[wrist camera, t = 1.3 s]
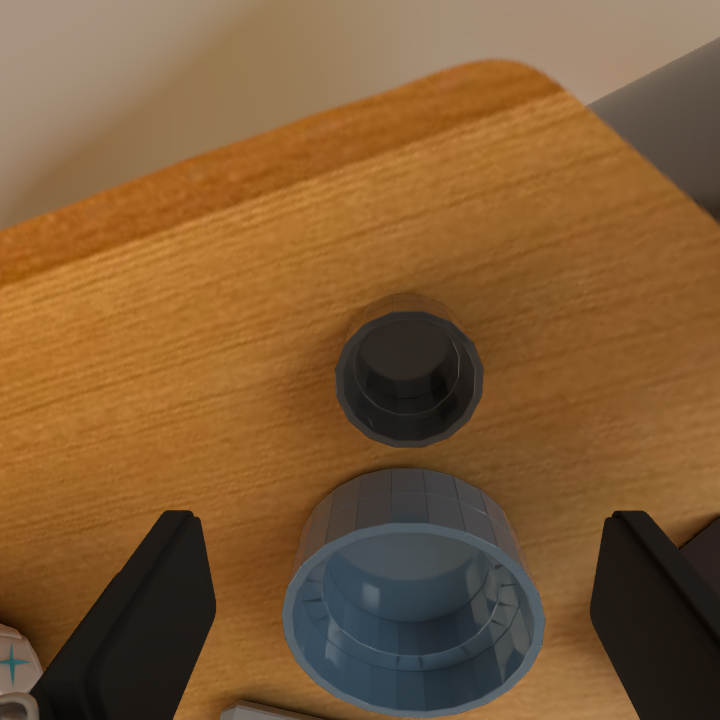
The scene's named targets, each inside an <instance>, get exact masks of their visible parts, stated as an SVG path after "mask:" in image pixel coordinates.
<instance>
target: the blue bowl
mask: <svg viewBox="0 0 720 720" xmlns="http://www.w3.org/2000/svg"><path fill="white" fill-rule="evenodd" d="M282 621H283V629H284V637H285V640H286V642H287V644H288V646H289V648H290V650H291V652H292V654H293V656H294V658H295V660H296V662H297V663H298V664H299V666H300V667H301V668H302V669H303V670H304V671H305V672H306V673H307V675H308V676H309V677H310V678H311V679H312V680H313V681H314V682H315V683H316V684H318V685H319V686H321V687H322V688H323V689H325V690H326V691H328V692H329V693H331V694H332V695H334V696H335V697H336V698H339V699H341V700H343V701H345V702H348V703H350V704H352V705H355V706H357V707H359V708H362V709H364V710H365V709H366V710H367V711H372V712H376V713H381V714H385V715H390V716H394V717H395V716H396V717H411V718H433V717H440V716H448V715H455V714H457V713H458V714H459V713H462V712H465V711H468V710H471V709H474V708H477V707H480V706H483V705H485V704H487V703H489V702H491V701H492V700H494V699H496V698H497V697H499V696H501V695H502V694H504V693H506V692H507V691H509V690H510V689H512V688H513V687H514V686H515V685H516V684H517V683H518V682H519V681H520V680H521V678H522V677H523V676H524V675H525V674H526V673H527V672H528V671H529V670H530V669H531V667H532V665H533V663H534V661H535V659H536V657H537V655H538V653H539V651H540V649H541V647H542V643H543V635H544V627H545V615H544V611H543V607H542V603H541V599H540V594H539V592H538V589H537V586H536V584H535V581H534V579H533V576H532V573H531V571H530V568H529V566H528V563H527V560H526V558H525V555H524V553H523V550H522V547H521V545H520V542H519V539H518V537H517V534H516V532H515V529H514V527H513V526H512V524H511V523H510V521H509V519H508V518H507V516H506V515H505V513H504V511H503V510H502V508H501V507H500V506H499V505H498V504H497V503H496V502H494V501H493V500H492V499H491V498H490V497H489V496H488V495H486V494H485V493H484V492H483V491H482V490H481V489H479V488H477V487H475V486H473V485H471V484H469V483H467V482H465V481H463V480H461V479H459V478H457V477H455V476H452V475H450V474H445V473H441V472H437V471H432V470H428V469H424V468H423V469H422V468H392V469H391V468H389V469H384V470H380V471H376V472H372V473H367V474H363V475H360V476H358V477H356V478H355V479H353V480H351V481H349V482H347V483H345V484H343V485H341V486H339V487H337V488H336V489H334V490H333V491H332V492H331V493H330V494H329V495H328V496H327V497H325V498H324V499H323V500H322V501H321V502H320V503H319V504H318V505H317V506H316V507H315V508H314V510H313V512H312V513H311V515H310V517H309V518H308V520H307V522H306V523H305V525H304V527H303V530H302V534H301V538H300V541H299V545H298V549H297V552H296V556H295V560H294V563H293V567H292V571H291V575H290V578H289V582H288V586H287V589H286V594H285V599H284V603H283V608H282Z"/></svg>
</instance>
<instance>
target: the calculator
mask: <svg viewBox="0 0 720 720" xmlns="http://www.w3.org/2000/svg"><path fill="white" fill-rule="evenodd" d="M679 551H680V552H681V553H682V554H683V555H684V557H685V558H686V559H687V560H688V561H689V562H690V563H691V565H692V566H693V567H694V568H695V569H696V570H697V572H698V573H699V574H700V575H701V576H702V577H703V579H704V580H705V581H706V582H707V583H708V584H709V585H710V586H711V587H712V588H713V589H714V590H715V592H716V593H717V594H718V595H719V596H720V517H719V518H718V519H717V520H716V521H714V522H713V523H712V524H711V525H710V526H708V527H707V528H706V529H705V530H704V531H702V532H701V533H700V534H699V535H697V536H696V537H695V538H694V539H693V540H691V541H690V542H689V543H688V544H687V545H685V546H684V547H683V548H682V549H681V550H679Z"/></svg>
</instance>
